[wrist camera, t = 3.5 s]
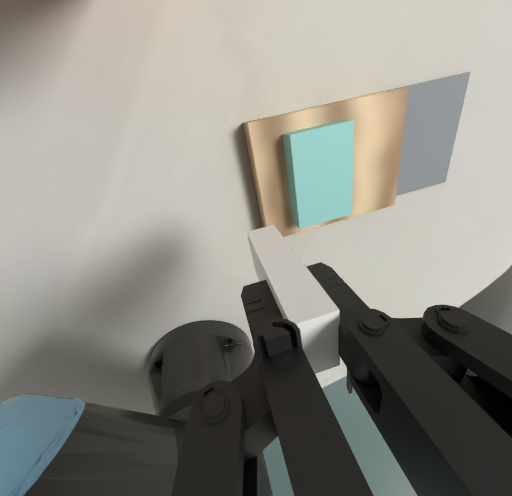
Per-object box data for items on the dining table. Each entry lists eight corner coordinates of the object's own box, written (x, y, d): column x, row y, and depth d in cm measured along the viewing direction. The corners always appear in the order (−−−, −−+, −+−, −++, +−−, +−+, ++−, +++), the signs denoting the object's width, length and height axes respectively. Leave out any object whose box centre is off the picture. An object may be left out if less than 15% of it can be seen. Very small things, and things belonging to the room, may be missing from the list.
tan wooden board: (263, 232, 28) (269, 240, 26) (242, 122, 22) (247, 122, 20) (380, 199, 30) (394, 204, 28) (389, 90, 24) (408, 86, 22)
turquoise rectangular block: (292, 222, 26) (299, 228, 24) (282, 134, 21) (290, 134, 20) (341, 208, 27) (352, 214, 25) (341, 120, 22) (354, 119, 20)
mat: (383, 198, 30) (385, 198, 30) (394, 88, 24) (396, 88, 24) (443, 181, 31) (445, 181, 31) (467, 72, 25) (470, 72, 25)
